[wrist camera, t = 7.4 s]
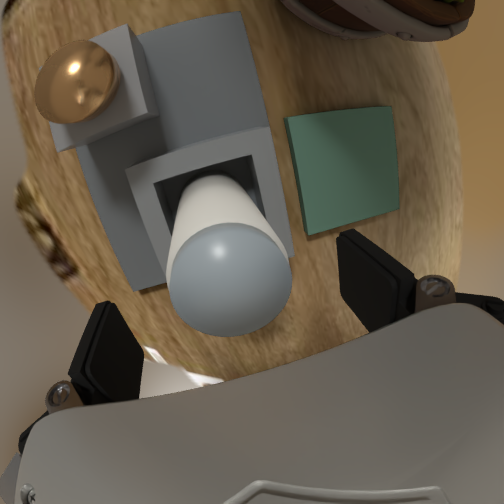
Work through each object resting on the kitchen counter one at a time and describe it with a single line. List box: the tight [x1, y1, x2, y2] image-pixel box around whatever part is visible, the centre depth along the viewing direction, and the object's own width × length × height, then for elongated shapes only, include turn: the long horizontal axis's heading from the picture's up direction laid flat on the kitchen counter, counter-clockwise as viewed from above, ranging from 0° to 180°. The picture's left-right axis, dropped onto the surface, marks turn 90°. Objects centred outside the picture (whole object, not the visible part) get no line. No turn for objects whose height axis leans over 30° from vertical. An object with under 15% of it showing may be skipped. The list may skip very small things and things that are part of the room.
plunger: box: [34, 40, 121, 124], centre depth 12 cm, size 4×4×6 cm
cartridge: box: [166, 170, 292, 337], centre depth 16 cm, size 5×5×12 cm
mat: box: [284, 106, 399, 235], centre depth 22 cm, size 10×10×1 cm
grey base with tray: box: [39, 11, 295, 292], centre depth 17 cm, size 20×14×6 cm
